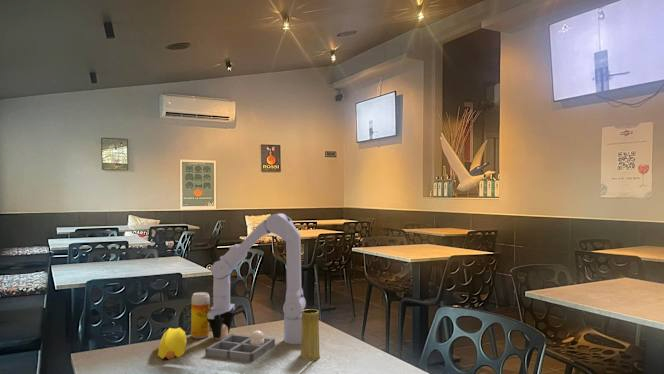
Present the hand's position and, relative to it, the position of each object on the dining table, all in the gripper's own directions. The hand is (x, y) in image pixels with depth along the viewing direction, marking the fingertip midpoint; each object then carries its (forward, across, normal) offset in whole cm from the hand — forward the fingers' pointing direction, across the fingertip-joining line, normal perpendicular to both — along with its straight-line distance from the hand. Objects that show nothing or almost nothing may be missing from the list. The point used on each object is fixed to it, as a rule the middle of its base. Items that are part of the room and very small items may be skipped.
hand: (221, 335), depth 163 cm
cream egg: (+1, +6, +17) cm, 18 cm away
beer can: (+2, -1, -9) cm, 9 cm away
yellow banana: (+2, +16, -8) cm, 18 cm away
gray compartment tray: (+2, +10, +13) cm, 16 cm away
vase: (+2, +7, +35) cm, 36 cm away
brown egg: (+2, 0, 0) cm, 2 cm away
